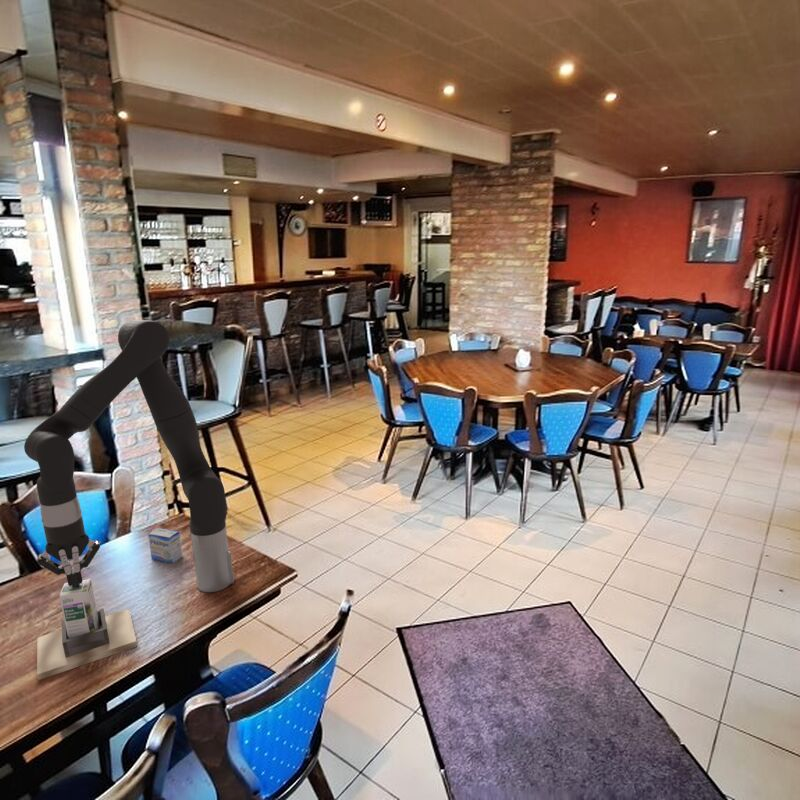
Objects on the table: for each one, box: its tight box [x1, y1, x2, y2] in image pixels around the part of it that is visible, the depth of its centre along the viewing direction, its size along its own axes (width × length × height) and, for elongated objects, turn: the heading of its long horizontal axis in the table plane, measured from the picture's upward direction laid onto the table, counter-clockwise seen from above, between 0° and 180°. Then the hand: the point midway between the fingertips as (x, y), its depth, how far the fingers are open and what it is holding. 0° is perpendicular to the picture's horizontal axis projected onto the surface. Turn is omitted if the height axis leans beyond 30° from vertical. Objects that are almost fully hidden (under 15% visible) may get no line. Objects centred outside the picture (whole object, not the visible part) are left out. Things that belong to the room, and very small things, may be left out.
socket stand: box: [36, 608, 138, 681], centre depth 133 cm, size 20×14×6 cm
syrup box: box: [58, 577, 100, 639], centre depth 131 cm, size 6×6×14 cm
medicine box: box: [148, 527, 183, 564], centre depth 169 cm, size 8×4×9 cm, turn 73°
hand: (75, 585), depth 129 cm, fingers closed
